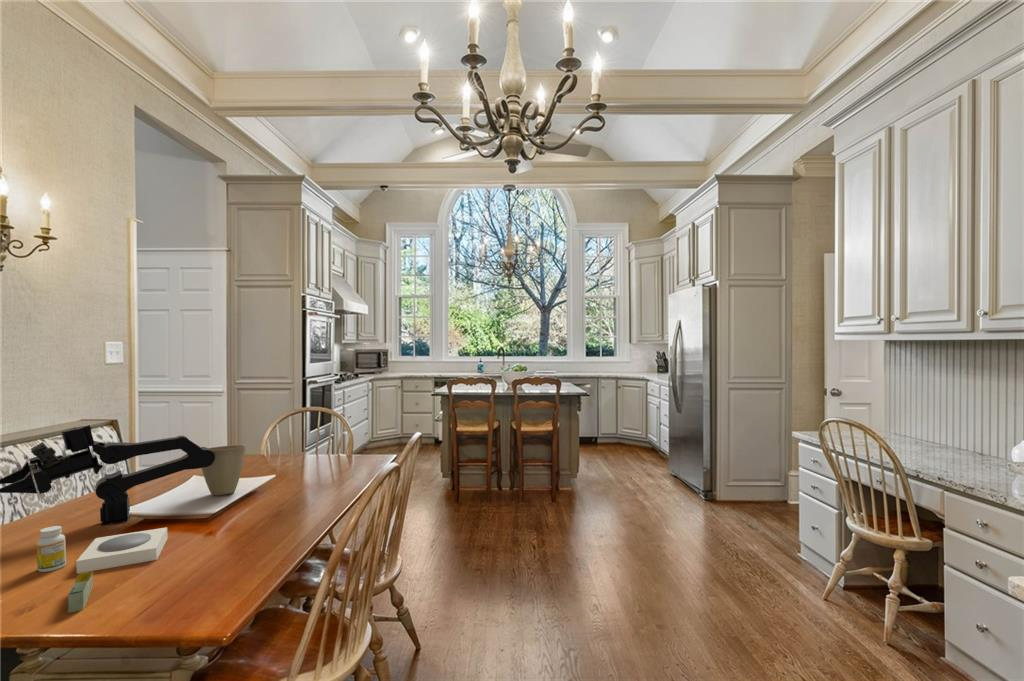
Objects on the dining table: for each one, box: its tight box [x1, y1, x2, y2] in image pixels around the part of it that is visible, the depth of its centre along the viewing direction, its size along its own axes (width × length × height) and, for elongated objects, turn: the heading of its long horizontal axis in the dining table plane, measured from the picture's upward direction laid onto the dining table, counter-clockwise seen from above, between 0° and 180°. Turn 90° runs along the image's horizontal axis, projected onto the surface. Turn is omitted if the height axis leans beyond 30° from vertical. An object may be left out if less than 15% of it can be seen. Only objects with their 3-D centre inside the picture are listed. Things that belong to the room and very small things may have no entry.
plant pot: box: [201, 444, 246, 496], centre depth 189 cm, size 15×15×16 cm
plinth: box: [75, 526, 169, 574], centre depth 137 cm, size 16×16×3 cm
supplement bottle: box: [36, 525, 67, 573], centre depth 130 cm, size 5×5×10 cm
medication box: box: [66, 571, 94, 614], centre depth 113 cm, size 12×3×4 cm, turn 31°
